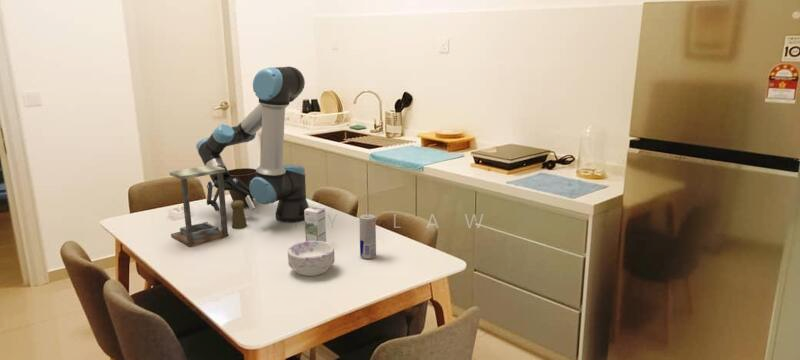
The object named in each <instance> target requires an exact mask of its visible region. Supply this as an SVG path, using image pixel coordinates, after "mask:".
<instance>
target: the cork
mask: <svg viewBox="0 0 800 360" xmlns="http://www.w3.org/2000/svg"><path fill="white" fill-rule="evenodd" d="M230 208H231V209H232V216H231V217H232V218H231V219H232V220H231V228H232V229H235V230H242V229H246V228H248V224H247V220H246V216H245V210H244V208H245V207H244V202H243V201H241V200H237V201H233V200H232V201H231V204H230Z"/></svg>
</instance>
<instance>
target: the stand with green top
mask: <svg viewBox="0 0 800 360" xmlns="http://www.w3.org/2000/svg"><path fill="white" fill-rule="evenodd" d="M223 172H225V169H224V168H221V167H218V166H215V165H209V166H205V165H203V166H198V167H191V168H186V169H179V170H173V171H169V176H172V177H173V178H176V179H177V180H180V184H181V194H182V203H183V205H182V206H183V214H184V221H185V222H184V223H185V226H182V227H180V228H179V231H177V232H173V233H170V236H171V238H173V239H174V240H176V241H177V242H179V243H182V244H183V245H184V246H186V247H188V248H192V247H195V246H199V245H202V244H206V242H207V243H210V242H214V241H218V240H221V239H222V240H223V239H225V238H229V237H230V235H229V231H228V229H229V227H228V218H227V208H226V192H225V191H224V180H223ZM216 173H217V179H218V188H217V189H218V191H219V195H218V200H219V201H218V202H219V204H220V214H221V217H220V223H221V224H220V225H221V229H220V228H219V226H215V225H213V224H211V223H209V222H208V221H204V222H200V223H196V224H192V215H191V214H192V213H191V208H190V207H191V206H190V197H189V186H188V179H194V178H198V177H204V176H210V175H211V174H216Z"/></svg>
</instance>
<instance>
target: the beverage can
mask: <svg viewBox="0 0 800 360" xmlns="http://www.w3.org/2000/svg"><path fill="white" fill-rule="evenodd" d="M376 224H377V221H376V215H374V214H369V213H368V214H361V215H359V256H360V258H362V259H365V260H371V259H374V258H376V256H377V232H376V231H377V230H376V229H377V227H376V226H377V225H376Z"/></svg>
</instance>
